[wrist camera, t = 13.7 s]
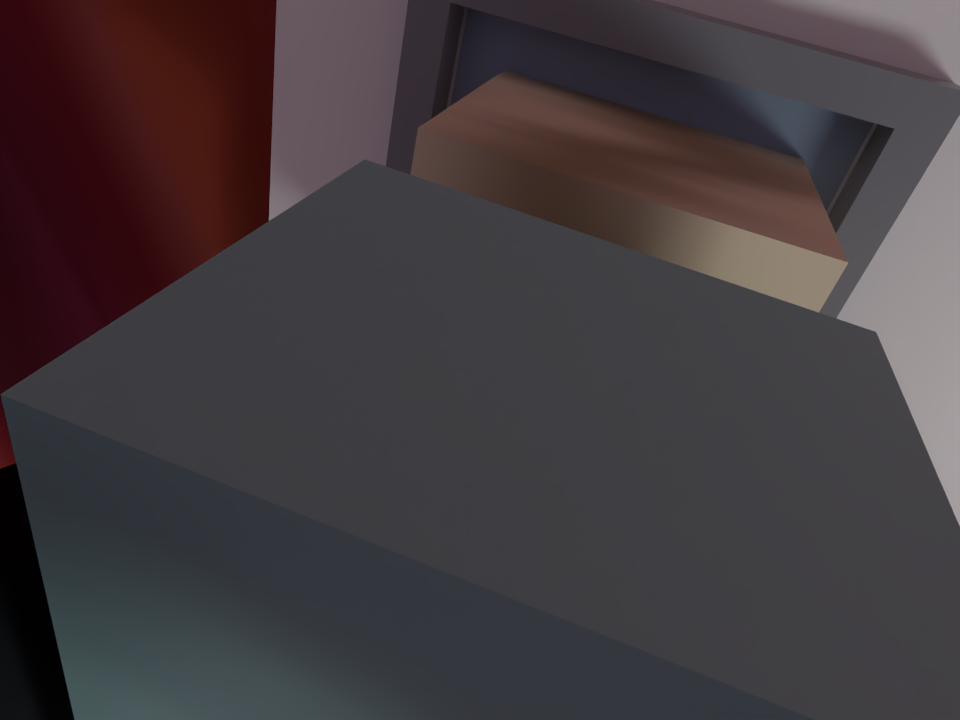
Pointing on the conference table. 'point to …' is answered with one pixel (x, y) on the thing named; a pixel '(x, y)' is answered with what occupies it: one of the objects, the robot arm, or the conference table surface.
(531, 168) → the birch block
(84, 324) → the conference table surface
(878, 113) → the grey tray
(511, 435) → the teal block
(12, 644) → the robot arm
